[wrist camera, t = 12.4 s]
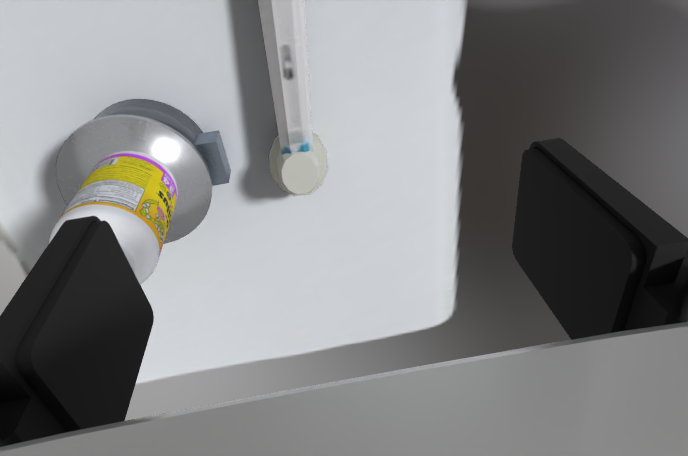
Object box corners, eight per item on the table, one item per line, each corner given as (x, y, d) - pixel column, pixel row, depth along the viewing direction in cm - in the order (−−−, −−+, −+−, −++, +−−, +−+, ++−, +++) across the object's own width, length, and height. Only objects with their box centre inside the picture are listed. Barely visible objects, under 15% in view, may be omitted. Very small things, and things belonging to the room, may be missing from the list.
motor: (55, 105, 39) (26, 131, 35) (207, 81, 40) (199, 103, 35) (112, 221, 46) (94, 255, 42) (242, 199, 47) (238, 231, 42)
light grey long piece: (307, -154, 29) (333, 210, 40) (303, -128, 35) (327, 182, 46) (222, -151, 29) (273, 216, 40) (232, -125, 34) (274, 187, 46)
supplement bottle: (173, 225, 41) (140, 334, 30) (90, 208, 39) (25, 319, 28) (185, 158, 37) (153, 255, 27) (96, 137, 36) (24, 232, 25)
